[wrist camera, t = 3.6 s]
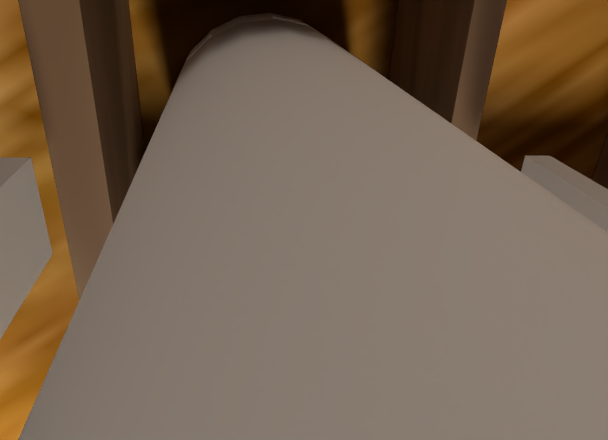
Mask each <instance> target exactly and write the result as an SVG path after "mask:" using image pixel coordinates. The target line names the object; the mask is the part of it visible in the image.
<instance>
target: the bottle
mask: <svg viewBox="0 0 608 440" xmlns="http://www.w3.org/2000/svg"><path fill="white" fill-rule="evenodd" d="M18 440H608V232H606V231H605V230H603V229H602V228H601V227H599V226H598V225H596V224H595V223H593V222H592V221H590V220H589V219H588V218H586V217H585V216H583V215H582V214H580V213H579V212H578V211H576V210H575V209H573V208H572V207H570V206H569V205H567V204H566V203H565V202H563V201H562V200H560V199H559V198H557V197H556V196H555V195H553V194H552V193H550V192H549V191H547V190H546V189H544V188H543V187H542V186H540V185H539V184H537V183H536V182H534V181H533V180H532V179H530V178H529V177H527V176H526V175H524V174H523V173H522V172H520V171H519V170H517V169H516V168H514V167H513V166H511V165H510V164H509V163H507V162H506V161H504V160H503V159H501V158H500V157H499V156H497V155H496V154H494V153H493V152H491V151H490V150H488V149H487V148H486V147H484V146H483V145H481V144H480V143H478V142H477V141H476V140H474V139H473V138H471V137H470V136H468V135H467V134H465V133H464V132H463V131H461V130H460V129H458V128H457V127H455V126H454V125H453V124H451V123H450V122H448V121H447V120H445V119H444V118H443V117H441V116H440V115H438V114H437V113H435V112H434V111H432V110H431V109H430V108H428V107H427V106H425V105H424V104H422V103H421V102H420V101H418V100H417V99H415V98H414V97H412V96H411V95H409V94H408V93H407V92H405V91H404V90H402V89H401V88H399V87H398V86H397V85H395V84H394V83H392V82H391V81H389V80H388V79H386V78H385V77H384V76H382V75H381V74H379V73H378V72H376V71H375V70H374V69H372V68H371V67H369V66H368V65H366V64H365V63H364V62H362V61H361V60H359V59H358V58H356V57H355V56H353V55H352V54H351V53H349V52H348V51H346V50H345V49H343V48H342V47H341V46H339V45H338V44H336V43H335V42H333V41H332V40H330V39H329V38H328V37H326V36H325V35H323V34H322V33H320V32H318V31H317V30H315V29H314V28H312V27H310V26H309V25H307V24H306V23H304V22H303V21H301V20H299V19H295V18H290V17H286V16H282V15H277V14H273V13H263V14H254V15H245V16H239V17H237V18H234V19H232V20H230V21H228V22H226V23H224V24H222V25H220V26H218V27H216V28H214V29H212V30H211V31H210V32H209V33H208V34H207V35H206V36H205V37H204V38H203V39H202V40H201V41H200V42H199V43H198V44H197V45H196V46H195V47H194V48H193V49H192V50H191V51H190V53H189V55H188V57H187V59H186V62H185V64H184V66H183V68H182V70H181V72H180V74H179V77H178V79H177V81H176V83H175V86H174V88H173V90H172V92H171V95H170V97H169V99H168V101H167V104H166V106H165V108H164V110H163V113H162V115H161V117H160V120H159V122H158V124H157V126H156V129H155V131H154V133H153V135H152V138H151V140H150V142H149V144H148V147H147V149H146V151H145V154H144V156H143V158H142V160H141V163H140V165H139V167H138V169H137V172H136V174H135V176H134V178H133V181H132V183H131V185H130V188H129V190H128V192H127V194H126V197H125V199H124V201H123V203H122V206H121V208H120V210H119V212H118V215H117V217H116V219H115V222H114V224H113V226H112V228H111V231H110V233H109V235H108V237H107V240H106V242H105V244H104V246H103V249H102V251H101V253H100V256H99V258H98V260H97V262H96V265H95V267H94V269H93V271H92V274H91V276H90V278H89V280H88V283H87V285H86V287H85V290H84V292H83V294H82V296H81V299H80V301H79V303H78V305H77V308H76V310H75V312H74V314H73V317H72V319H71V321H70V324H69V326H68V328H67V330H66V333H65V335H64V337H63V339H62V342H61V344H60V346H59V348H58V351H57V353H56V355H55V358H54V360H53V362H52V364H51V367H50V369H49V371H48V373H47V376H46V378H45V380H44V383H43V385H42V387H41V389H40V392H39V394H38V396H37V398H36V401H35V403H34V405H33V407H32V410H31V412H30V414H29V417H28V419H27V421H26V423H25V426H24V428H23V430H22V432H21V435H20V437H19V439H18Z"/></svg>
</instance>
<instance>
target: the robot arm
mask: <svg viewBox="0 0 608 440" xmlns="http://www.w3.org/2000/svg"><path fill="white" fill-rule="evenodd" d="M521 172H522V173H523V174H524V175H526V176H527V177H529V178H530V179H532V180H533V181H534V182H536V183H537V184H539V185H540V186H542V187H543V188H544V189H546V190H547V191H549V192H550V193H552V194H553V195H555V196H556V197H557V198H559V199H560V200H562V201H563V202H565V203H566V204H567V205H569V206H570V207H572V208H573V209H575V210H576V211H578V212H579V213H580V214H582V215H583V216H585V217H586V218H588V219H589V220H590V221H592V222H593V223H595V224H596V225H598V226H599V227H601V228H602V229H603V230H605V231H606V232H608V189H606V188H604V187H603V186H601V185H599V184H598V183H596V182H594V181H592V180H591V179H589V178H587V177H586V176H584V175H582V174H581V173H579V172H577V171H575V170H574V169H572V168H570V167H569V166H567V165H565V164H563V163H562V162H560V161H558V160H557V159H555V158H553V157H551V156H525V158H524V162H523V166H522V169H521ZM51 256H52V250H51V245H50V241H49V236H48V232H47V227H46V223H45V218H44V214H43V209H42V205H41V200H40V196H39V191H38V187H37V183H36V178H35V174H34V169H33V165H32V160H31V158H0V339H1V337H2V336H3V334H4V332H5V331H6V329H7V327H8V326H9V324H10V323H11V321H12V319H13V318H14V316H15V314H16V313H17V311H18V309H19V308H20V306H21V305H22V303H23V301H24V300H25V298H26V296H27V295H28V293H29V291H30V290H31V288H32V287H33V285H34V283H35V282H36V280H37V278H38V277H39V275H40V273H41V272H42V270H43V269H44V267H45V265H46V264H47V262H48V260H49V259H50V257H51Z"/></svg>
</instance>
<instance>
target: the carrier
mask: <svg viewBox="0 0 608 440" xmlns="http://www.w3.org/2000/svg"><path fill="white" fill-rule="evenodd" d="M18 2H19V7H20V12H21V16H22V21H23V26H24V31H25V36H26V41H27V46H28V51H29V56H30V61H31V65H32V70H33V75H34V80H35V85H36V90H37V95H38V100H39V105H40V109H41V114H42V119H43V124H44V129H45V134H46V139H47V144H48V149H49V153H50V158H51V163H52V168H53V173H54V178H55V183H56V188H57V193H58V198H59V202H60V207H61V212H62V217H63V222H64V227H65V232H66V237H67V242H68V246H69V251H70V256H71V261H72V266H73V271H74V276H75V281H76V286H77V290H78V295H79V300H80V299H81V296H82V294H83V292H84V290H85V287H86V285H87V283H88V280H89V278H90V276H91V274H92V271H93V269H94V267H95V265H96V262H97V260H98V258H99V256H100V253H101V251H102V249H103V246H104V244H105V242H106V240H107V237H108V235H109V233H110V231H111V228H112V226H113V224H114V222H115V219H116V217H117V215H118V212H119V210H120V208H121V206H122V203H123V201H124V199H125V197H126V194H127V192H128V190H129V188H130V185H131V183H132V181H133V178H134V176H135V174H136V172H137V169H138V167H139V165H140V163H141V160H142V158H143V156H144V154H145V148H144V139H143V130H142V120H141V111H140V102H139V93H138V84H137V75H136V66H135V56H134V47H133V38H132V29H131V20H130V11H129V2H128V0H18ZM506 2H507V0H398V7H397V15H396V24H395V32H394V40H393V48H392V56H391V64H390V72H389V81H391V82H392V83H394V84H395V85H397V86H398V87H399V88H401V89H402V90H404V91H405V92H407V93H408V94H409V95H411V96H412V97H414V98H415V99H417V100H418V101H420V102H421V103H422V104H424V105H425V106H427V107H428V108H430V109H431V110H432V111H434V112H435V113H437V114H438V115H440V116H441V117H443V118H444V119H445V120H447V121H448V122H450V123H451V124H453V125H454V126H455V127H457V128H458V129H460V130H461V131H463V132H464V133H465V134H467V135H468V136H470V137H471V138H473V139H474V140H477V136H478V131H479V127H480V122H481V117H482V113H483V108H484V103H485V99H486V94H487V90H488V85H489V80H490V76H491V71H492V66H493V62H494V57H495V53H496V48H497V43H498V39H499V34H500V29H501V25H502V20H503V16H504V11H505V6H506ZM592 181H594V182H596V183H598V184H599V185H601V186H603V187H604V188H606V189H608V135H607V138H606V141H605V143H604V146H603V149H602V152H601V155H600V158H599V161H598V164H597V167H596V170H595V173H594V176H593V178H592Z"/></svg>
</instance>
